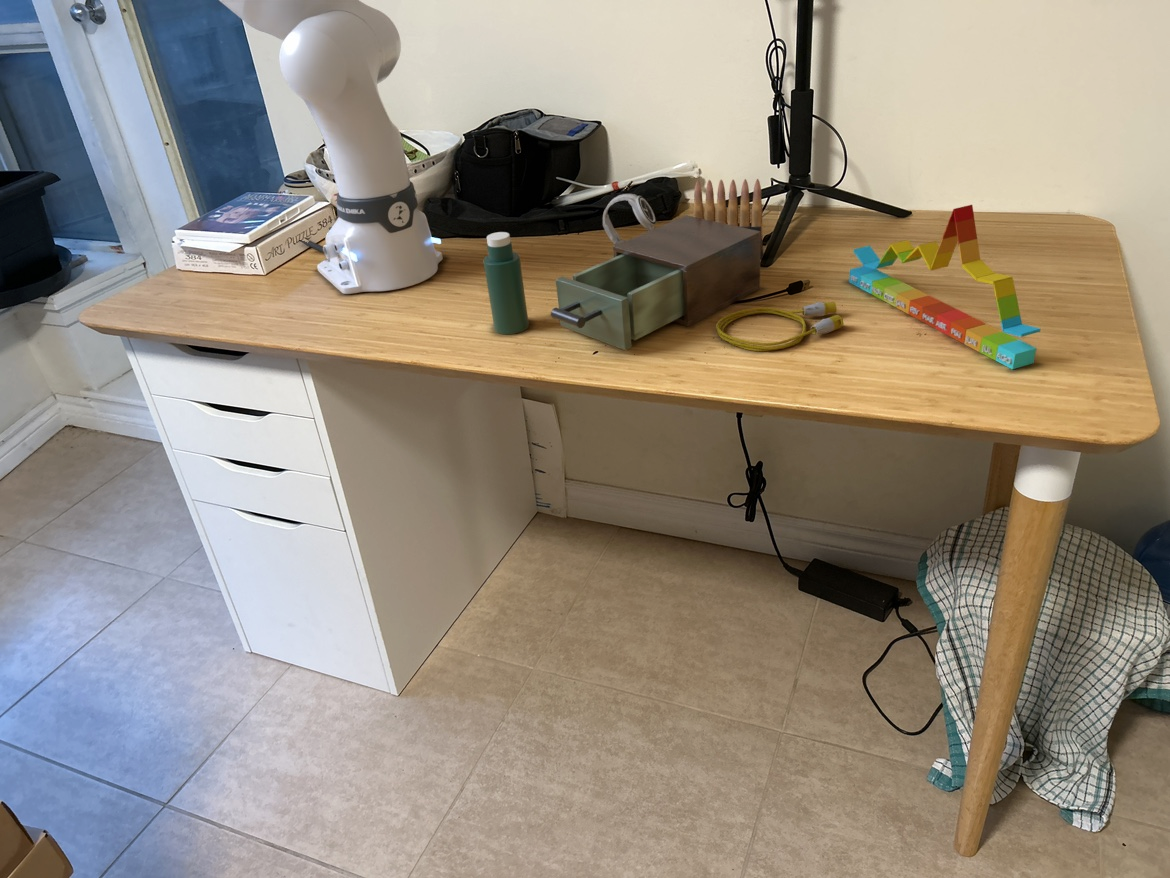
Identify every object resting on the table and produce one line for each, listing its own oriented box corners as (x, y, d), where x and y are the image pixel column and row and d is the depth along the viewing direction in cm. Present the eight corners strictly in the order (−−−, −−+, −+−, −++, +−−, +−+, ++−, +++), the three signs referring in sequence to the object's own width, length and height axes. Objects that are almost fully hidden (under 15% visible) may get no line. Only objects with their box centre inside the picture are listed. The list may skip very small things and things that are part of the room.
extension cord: (840, 356, 101) (842, 341, 100) (709, 349, 106) (709, 335, 105) (844, 313, 111) (845, 299, 110) (724, 309, 116) (724, 295, 114)
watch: (655, 272, 129) (651, 200, 123) (603, 272, 131) (597, 202, 125) (660, 258, 134) (657, 189, 128) (610, 259, 136) (605, 190, 130)
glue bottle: (487, 328, 117) (472, 237, 110) (514, 316, 120) (501, 227, 113) (509, 337, 114) (494, 244, 107) (536, 325, 117) (523, 233, 110)
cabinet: (688, 326, 112) (686, 266, 108) (616, 303, 121) (612, 246, 116) (759, 288, 120) (761, 231, 116) (688, 269, 129) (686, 215, 125)
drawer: (600, 363, 104) (596, 312, 100) (536, 337, 112) (530, 289, 108) (700, 311, 114) (699, 264, 110) (635, 291, 122) (632, 246, 118)
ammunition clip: (692, 258, 133) (690, 181, 126) (694, 254, 134) (692, 178, 128) (761, 259, 130) (763, 180, 123) (763, 255, 131) (764, 177, 125)
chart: (847, 282, 119) (855, 175, 111) (866, 277, 120) (876, 171, 112) (1010, 370, 95) (1036, 241, 87) (1033, 363, 96) (1060, 234, 88)
